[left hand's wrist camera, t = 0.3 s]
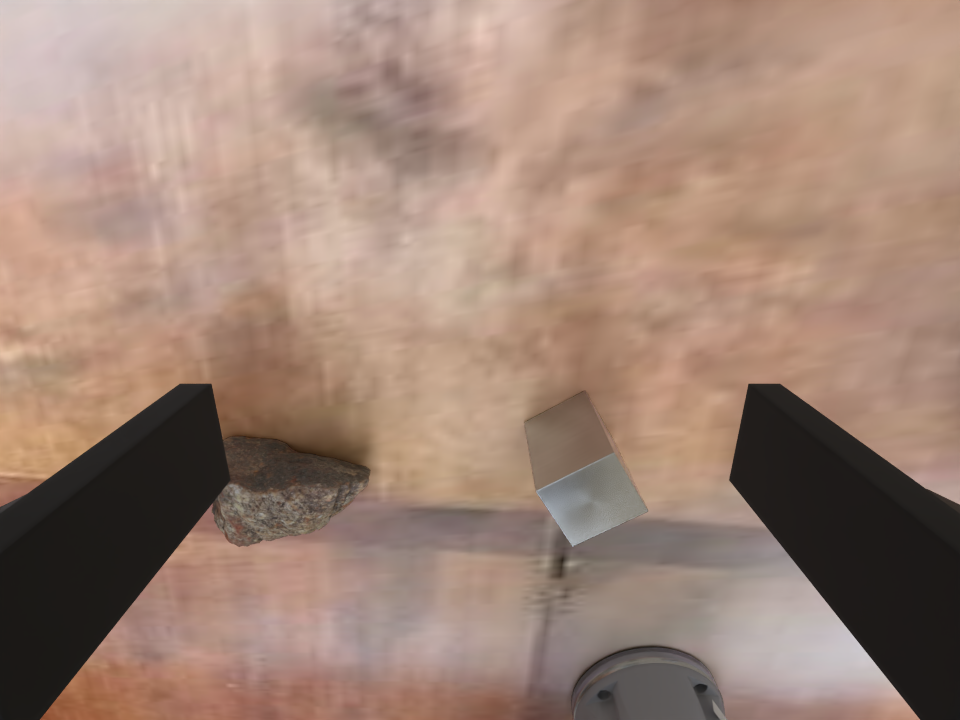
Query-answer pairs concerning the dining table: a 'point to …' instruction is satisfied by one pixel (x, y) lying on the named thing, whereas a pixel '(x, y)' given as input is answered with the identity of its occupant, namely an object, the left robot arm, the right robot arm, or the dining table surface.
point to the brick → (580, 470)
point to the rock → (281, 490)
